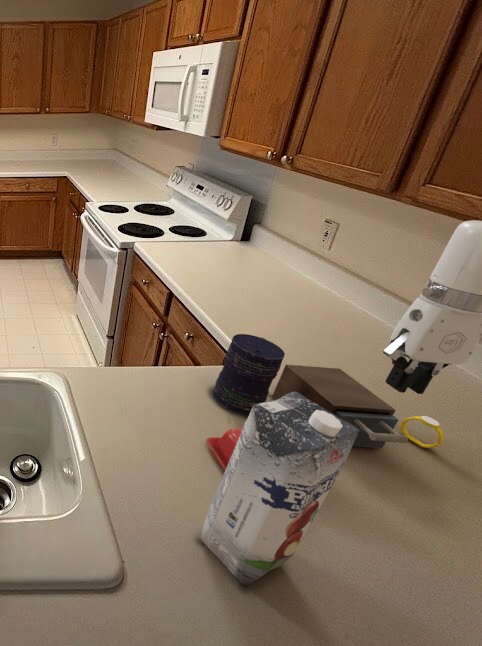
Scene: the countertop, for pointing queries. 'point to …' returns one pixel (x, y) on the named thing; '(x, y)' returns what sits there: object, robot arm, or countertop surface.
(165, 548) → the countertop surface
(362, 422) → the drawer
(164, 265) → the countertop surface
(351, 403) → the cabinet
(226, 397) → the storage jar
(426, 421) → the watch
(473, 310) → the robot arm
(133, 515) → the countertop surface
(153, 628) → the countertop surface
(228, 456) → the butter dish
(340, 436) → the juice carton
